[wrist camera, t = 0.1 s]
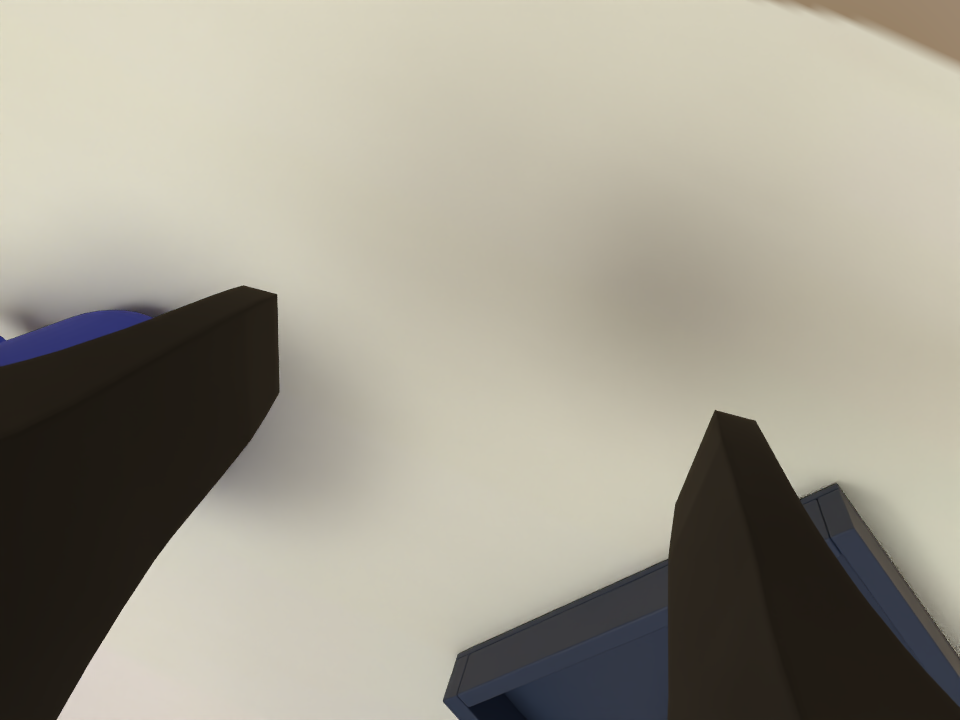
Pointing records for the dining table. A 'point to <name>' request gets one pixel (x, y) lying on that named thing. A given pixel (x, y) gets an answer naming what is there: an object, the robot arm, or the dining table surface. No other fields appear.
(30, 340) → the mug
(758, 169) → the dining table surface
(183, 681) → the dining table surface
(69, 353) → the robot arm
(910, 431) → the dining table surface
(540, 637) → the tray
